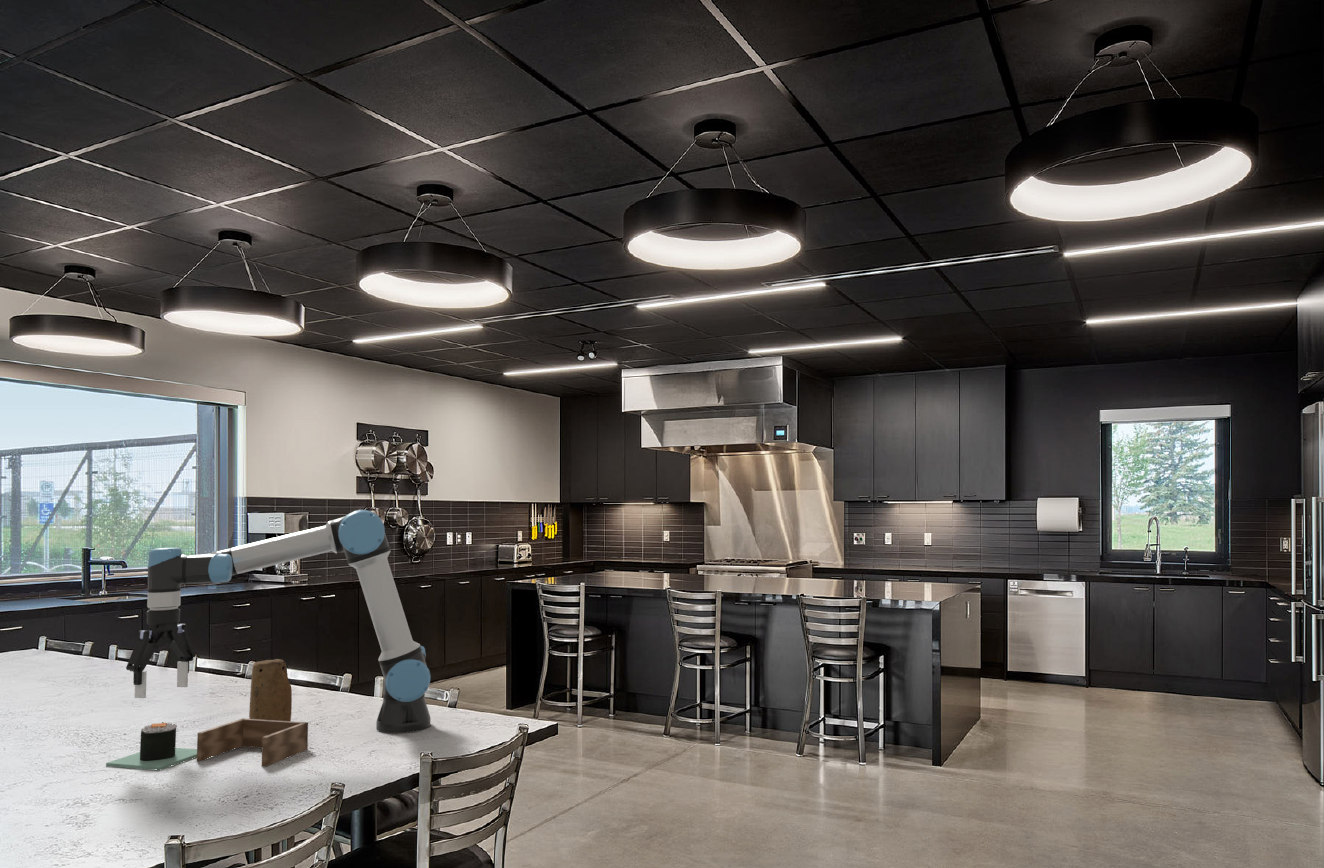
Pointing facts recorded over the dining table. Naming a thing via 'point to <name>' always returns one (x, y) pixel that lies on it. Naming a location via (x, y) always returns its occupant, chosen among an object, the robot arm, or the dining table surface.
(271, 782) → the dining table surface
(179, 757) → the mat
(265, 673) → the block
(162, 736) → the sushi
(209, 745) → the frame
